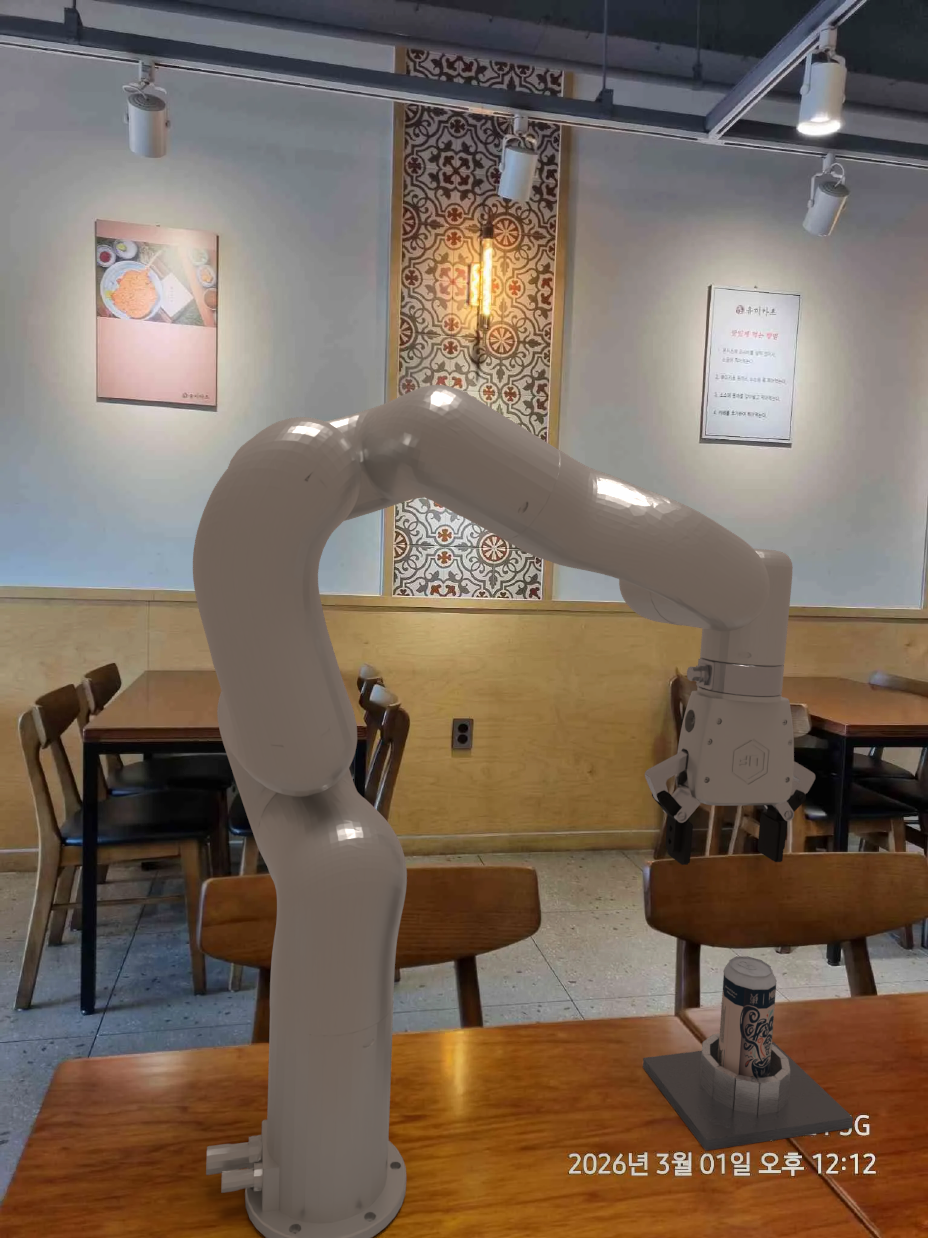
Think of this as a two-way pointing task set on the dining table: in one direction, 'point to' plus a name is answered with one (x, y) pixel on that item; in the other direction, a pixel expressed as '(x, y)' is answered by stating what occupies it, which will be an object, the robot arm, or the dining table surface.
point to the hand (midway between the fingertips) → (724, 858)
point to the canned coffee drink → (747, 1017)
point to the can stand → (743, 1098)
